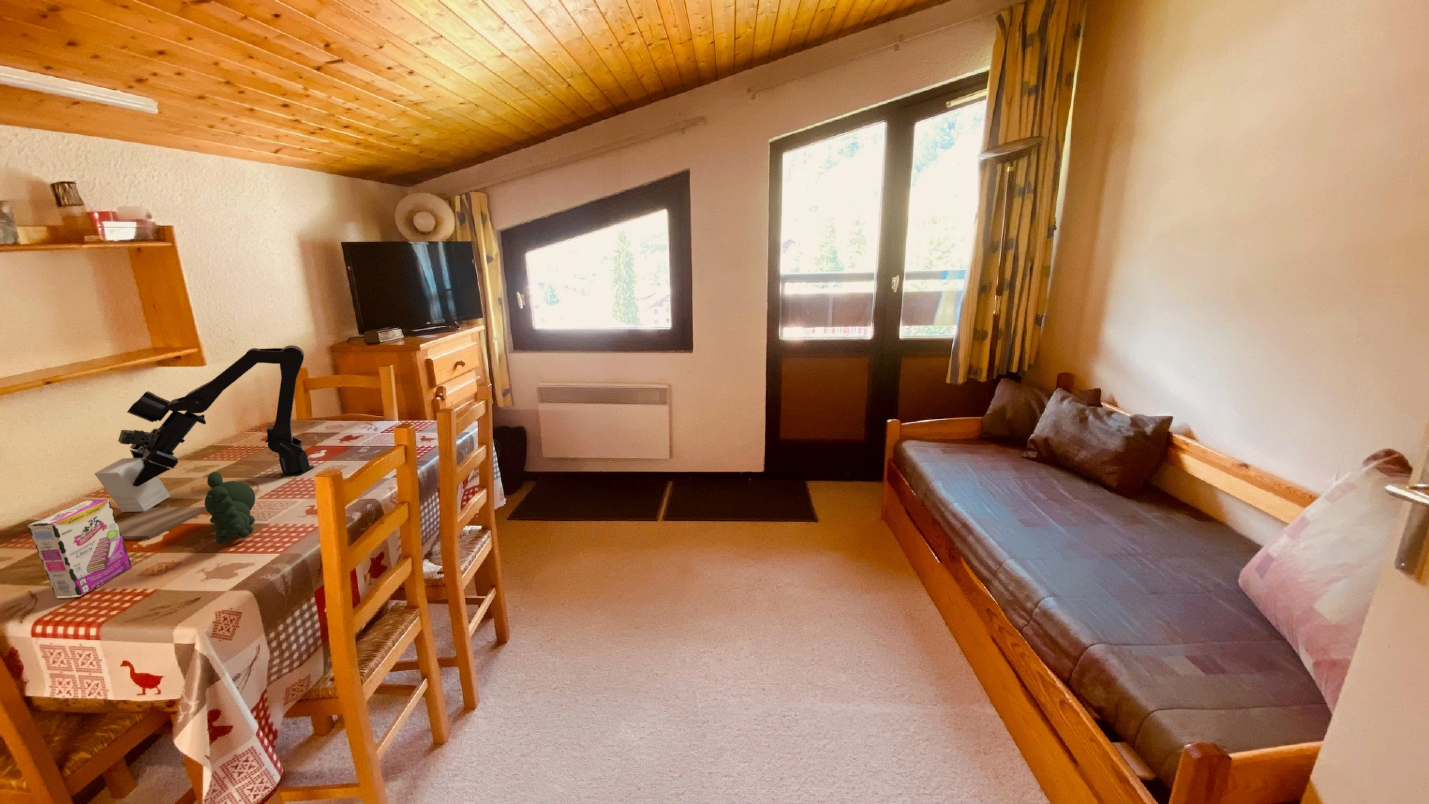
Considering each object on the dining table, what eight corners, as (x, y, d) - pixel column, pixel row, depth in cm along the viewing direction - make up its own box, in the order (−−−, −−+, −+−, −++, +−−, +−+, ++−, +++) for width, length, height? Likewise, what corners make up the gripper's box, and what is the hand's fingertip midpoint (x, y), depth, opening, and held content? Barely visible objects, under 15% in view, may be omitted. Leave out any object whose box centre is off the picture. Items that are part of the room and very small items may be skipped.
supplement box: (171, 495, 151) (146, 457, 145) (144, 512, 144) (117, 472, 139) (149, 495, 152) (123, 457, 146) (120, 512, 145) (92, 473, 140)
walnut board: (207, 510, 145) (206, 506, 145) (149, 539, 130) (148, 535, 130) (153, 511, 145) (152, 507, 145) (89, 540, 131) (88, 536, 131)
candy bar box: (83, 598, 108) (52, 523, 104) (55, 600, 108) (23, 525, 103) (135, 566, 119) (110, 498, 114) (111, 568, 119) (84, 499, 114)
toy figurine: (262, 548, 128) (261, 504, 146) (240, 476, 121) (241, 439, 140) (209, 563, 122) (214, 515, 140) (182, 489, 116) (192, 448, 134)
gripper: (129, 412, 150) (85, 463, 144) (145, 422, 139) (98, 477, 134) (177, 430, 158) (136, 479, 152) (195, 441, 148) (153, 494, 142)
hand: (130, 482), depth 145 cm, fingers closed on supplement box, 9 cm apart
